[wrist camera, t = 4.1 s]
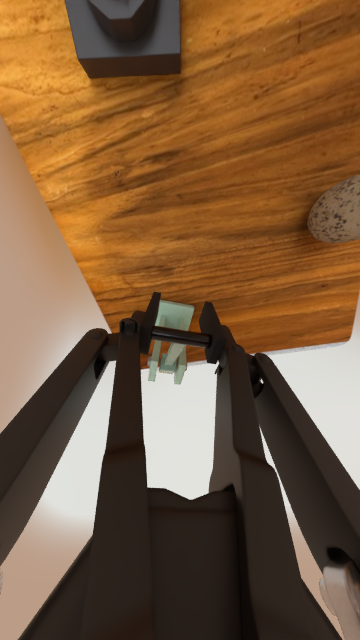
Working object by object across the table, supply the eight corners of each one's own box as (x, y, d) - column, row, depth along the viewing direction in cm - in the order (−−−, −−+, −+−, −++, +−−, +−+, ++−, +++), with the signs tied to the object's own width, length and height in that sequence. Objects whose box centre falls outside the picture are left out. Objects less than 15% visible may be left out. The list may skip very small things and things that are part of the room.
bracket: (156, 298, 30) (140, 344, 18) (194, 305, 31) (202, 353, 19) (151, 336, 35) (137, 390, 24) (183, 341, 36) (185, 395, 24)
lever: (154, 316, 12) (148, 343, 11) (212, 326, 13) (212, 353, 12) (152, 356, 24) (150, 371, 23) (182, 360, 25) (180, 375, 24)
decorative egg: (340, 168, 20) (458, 124, 11) (352, 215, 23) (454, 208, 14) (287, 213, 22) (351, 204, 14) (304, 250, 25) (366, 262, 17)
